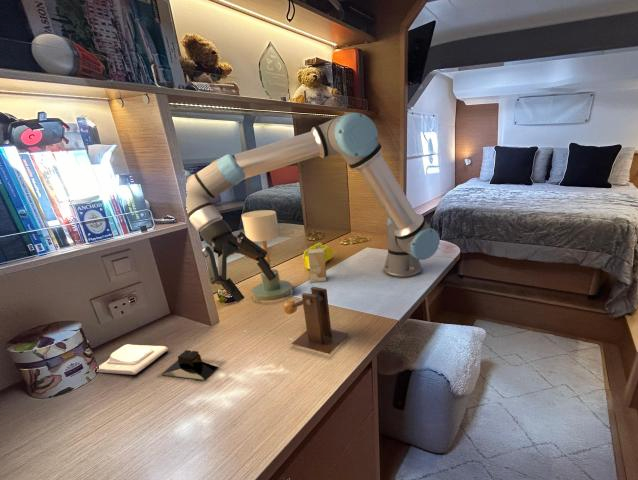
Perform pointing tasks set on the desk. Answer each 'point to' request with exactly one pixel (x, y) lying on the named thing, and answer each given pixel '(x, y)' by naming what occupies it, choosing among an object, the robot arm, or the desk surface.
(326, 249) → the yellow toy chassis
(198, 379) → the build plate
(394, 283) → the desk surface
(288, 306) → the lever with ball knob
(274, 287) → the lamp
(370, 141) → the robot arm
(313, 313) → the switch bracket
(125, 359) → the light switch
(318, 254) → the cosmetic box
